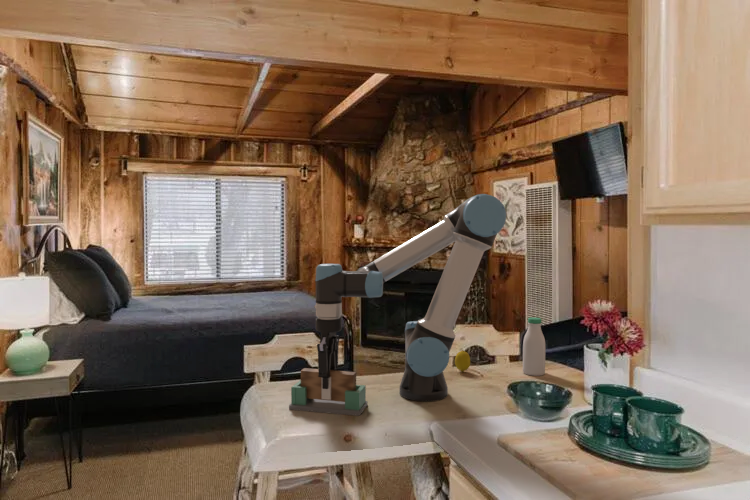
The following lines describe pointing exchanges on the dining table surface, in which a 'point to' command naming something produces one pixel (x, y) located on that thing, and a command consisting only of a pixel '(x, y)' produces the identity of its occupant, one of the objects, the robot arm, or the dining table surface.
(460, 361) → the lemon
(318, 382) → the slat
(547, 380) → the dining table surface
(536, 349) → the milk bottle
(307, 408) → the cradle
